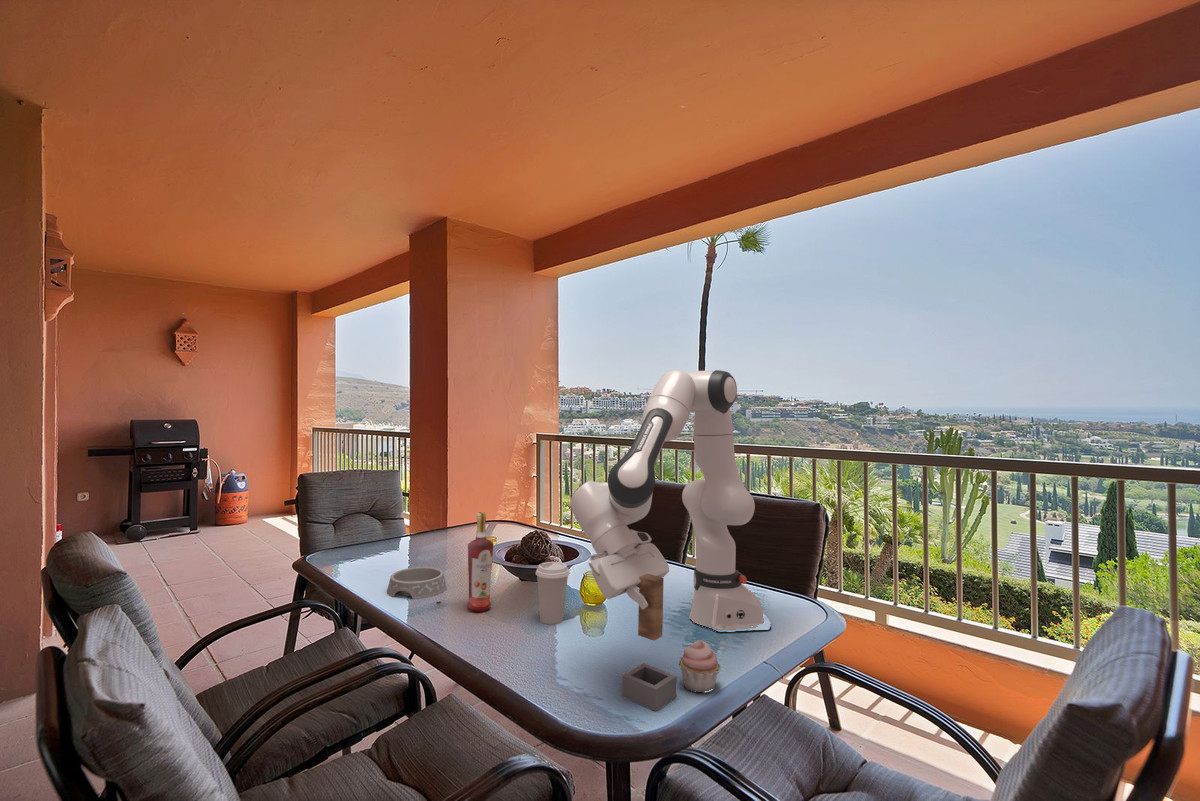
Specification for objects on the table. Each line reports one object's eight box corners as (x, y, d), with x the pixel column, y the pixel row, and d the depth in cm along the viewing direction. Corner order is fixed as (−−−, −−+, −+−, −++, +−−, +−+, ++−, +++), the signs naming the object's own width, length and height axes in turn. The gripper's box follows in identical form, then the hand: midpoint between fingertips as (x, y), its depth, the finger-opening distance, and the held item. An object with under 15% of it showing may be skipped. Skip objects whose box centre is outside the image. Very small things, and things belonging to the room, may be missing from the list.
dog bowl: (430, 602, 164) (430, 584, 164) (375, 597, 167) (375, 579, 167) (455, 584, 181) (455, 568, 181) (404, 580, 184) (405, 564, 184)
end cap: (621, 696, 111) (622, 675, 111) (643, 683, 117) (643, 663, 117) (655, 711, 106) (656, 689, 106) (676, 697, 112) (676, 676, 112)
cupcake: (676, 695, 112) (677, 647, 112) (677, 674, 121) (678, 629, 122) (722, 700, 111) (723, 651, 111) (720, 678, 120) (720, 632, 120)
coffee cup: (551, 610, 158) (552, 559, 158) (575, 619, 152) (576, 565, 152) (527, 620, 151) (528, 565, 151) (551, 629, 145) (553, 573, 145)
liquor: (472, 615, 153) (474, 516, 153) (462, 607, 159) (464, 512, 159) (496, 610, 157) (498, 513, 158) (485, 603, 163) (487, 509, 164)
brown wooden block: (638, 635, 112) (639, 576, 112) (646, 630, 114) (647, 573, 114) (654, 640, 109) (655, 581, 109) (662, 636, 112) (663, 577, 112)
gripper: (593, 548, 109) (631, 609, 102) (652, 532, 124) (688, 584, 118) (577, 565, 112) (612, 626, 105) (636, 548, 127) (670, 600, 120)
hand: (653, 604), depth 111 cm, fingers closed on brown wooden block, 3 cm apart
